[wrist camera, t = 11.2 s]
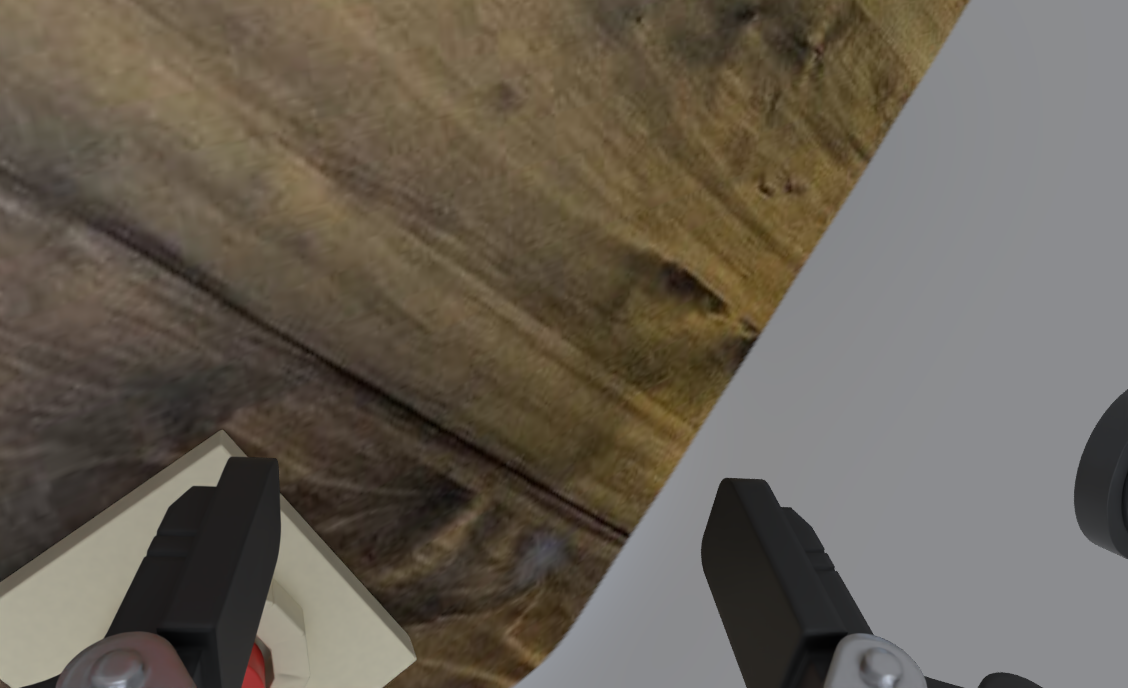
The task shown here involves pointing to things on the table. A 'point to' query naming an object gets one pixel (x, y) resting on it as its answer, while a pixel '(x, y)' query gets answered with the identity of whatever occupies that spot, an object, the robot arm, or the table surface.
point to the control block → (120, 542)
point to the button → (255, 670)
